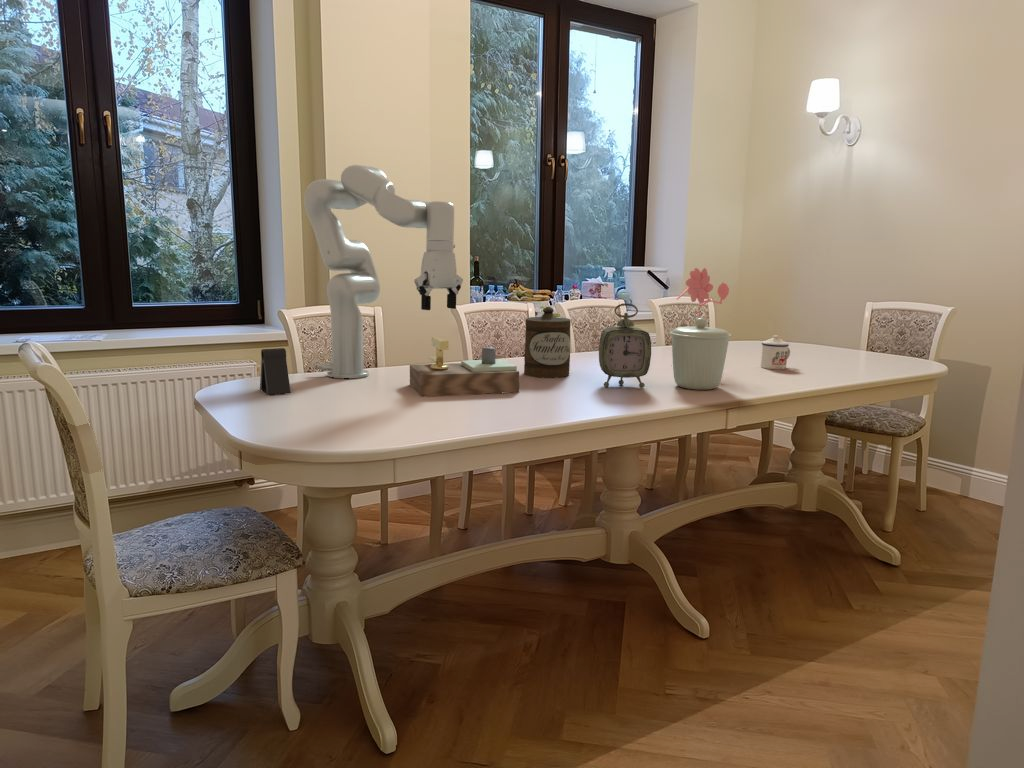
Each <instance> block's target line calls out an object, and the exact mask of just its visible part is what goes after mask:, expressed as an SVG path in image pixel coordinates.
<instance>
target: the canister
mask: <svg viewBox="0 0 1024 768" xmlns="http://www.w3.org/2000/svg"><path fill="white" fill-rule="evenodd" d="M707 324H708V320H707V319H706V318H705V317H701V318H700V317H698V318H696V319H695V321H694V325H695V326H679V327H675V328H674V329H673V330H670V331H669V335H671V352H672V353H671V356H672V366H673V367H672V370H673V379H674V382H675V384H676V385H677V386H678V387H680V388H683V389H686V390H697V391H698V390H699V391H700V390H701V391H706V390H714V389H716V388H718V387H719V386H720V384H721V381H722V378H723V377H722V376H723V373H724V369H725V368H724V367H725V363H726V358H727V352H728V347H729V340H730V339H731V338H732V334H731V333H729V331H727V330H726V329H722V328H718V327H710V326H707ZM705 326H706V327H705Z"/></svg>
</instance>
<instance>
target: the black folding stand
mask: <svg viewBox="0 0 1024 768" xmlns="http://www.w3.org/2000/svg"><path fill="white" fill-rule="evenodd" d="M260 350H261V351H260V353H261V354H260V356H261V357H260V358H261V365H260V379H259V380H260V383H259V390H260V391H261V390H262V391H263V392H262V391H261V392H262V393H264V394H265V393H266V394H265V395H267V396H268V395H270V396H276V395H275V394H281V395H286V394H285V393H291V385H290V384H291V383H290V379H289V378H290V376H289V371H288V362H287V350H286V348H285V347H282V348H281V347H280V348H279V347H278V348H263V349H260Z"/></svg>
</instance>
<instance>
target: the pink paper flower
mask: <svg viewBox="0 0 1024 768" xmlns="http://www.w3.org/2000/svg"><path fill="white" fill-rule="evenodd" d="M689 276H690V277H689V278H688V279H687V280H685V285H686V286H687V288H686V289H685V290H683V292H681V293H680V294H679V295H678V297H677V298H676V300H679V299H680V298H681V297H683V296H684V295H685V294H686V293H687V294H688V295H690V300H691V302H692V303H694V302H696V301H698V304H699V306H698V308H697V310H698V311H697V312H698V315H699V316H698V317H699V318H702V315H701V311H700V308H702V307H703V306H705V305H707V303H710V302H711V303H715V304H719V305H722V304H723V301H725V299H726V298H727V297H728V295H729V292H730V289H729V286H728V285H727V284H726V283H725V282H721V283H720V285H718V287H717V295H718V297H719V298H720V301H717V300H712V299H711V298H710V297H709V295H710V294H709V293H710V292H712V290H713V288H714V285H713V284H712V283H710V278H711V277H710V276H709V275H708V270H707V268H705V267H704V268H703V269H702V270H701V271H700V269H699V268H697V267H695V268H694V270H691V271H689ZM705 327H707V325H706V326H705Z"/></svg>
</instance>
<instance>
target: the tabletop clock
mask: <svg viewBox="0 0 1024 768" xmlns="http://www.w3.org/2000/svg"><path fill="white" fill-rule="evenodd" d="M627 306H628V307H632V308H634V309H635V310H636V311H635V313H633V314H628V312H624V314H619V313H617V310H618V309H619V308H620V307H627ZM638 312H639V310H638V307H637V306H636V305H634V304H632V303H620V304H618V305H616V307H615V308H614V314H615V315H616V316H617V317H620V318H621V319H619V320H618V322H617V324H616V326H610V327H606V328H604V329H602V331H601V334H600V338H599V343H598V344H599V345H598V362H599V363H598V364H599V367H600V369H601V370H600V371H602V372H603V373H604V374H605V375H607V376H608V377H607V379H606V380H607V381H605V382H604V383H603V387H605V388H608V387H609V386H610V383H609V382H610V381H611V378H612V377H615V378H620V380H618V385H620V386H623V385H624V383H625V382H624V378H636V379H637V381H638V383H639V384H638V387H639V388H640V389H644V387H645V383H644V382H642V380H641V378H640V377H644V376H646V375H647V374H648V373H649V370H650V367H651V366H650V365H651V360H652V340H651V335H650V334H649V333H650V332H648V331H646V330H645V329H641V328H639V327H635V323H634V322H633V321H632V319H630V318H633V317H635V316H637V314H638Z"/></svg>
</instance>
